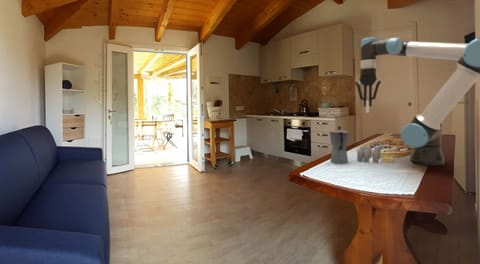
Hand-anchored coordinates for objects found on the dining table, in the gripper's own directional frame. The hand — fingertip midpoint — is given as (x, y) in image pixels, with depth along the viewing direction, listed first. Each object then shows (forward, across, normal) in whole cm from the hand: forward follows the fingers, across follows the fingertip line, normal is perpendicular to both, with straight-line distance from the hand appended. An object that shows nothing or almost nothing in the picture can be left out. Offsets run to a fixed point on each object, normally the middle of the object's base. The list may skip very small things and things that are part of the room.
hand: (367, 112), depth 159 cm
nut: (+27, -11, +3) cm, 29 cm away
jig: (+26, -2, +3) cm, 27 cm away
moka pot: (+27, +12, +13) cm, 32 cm away
